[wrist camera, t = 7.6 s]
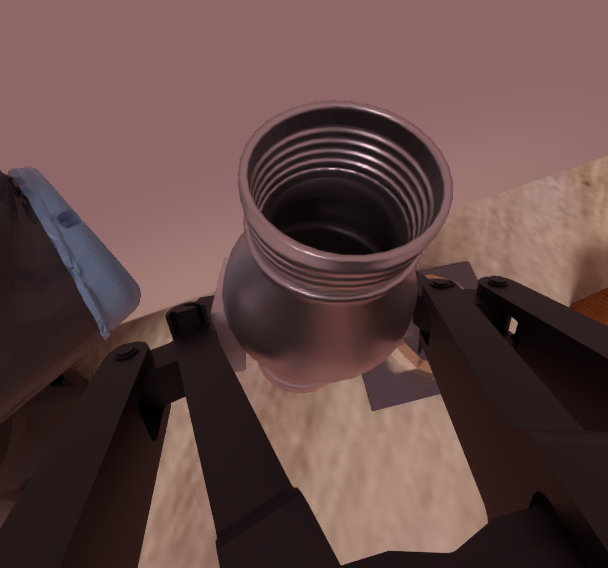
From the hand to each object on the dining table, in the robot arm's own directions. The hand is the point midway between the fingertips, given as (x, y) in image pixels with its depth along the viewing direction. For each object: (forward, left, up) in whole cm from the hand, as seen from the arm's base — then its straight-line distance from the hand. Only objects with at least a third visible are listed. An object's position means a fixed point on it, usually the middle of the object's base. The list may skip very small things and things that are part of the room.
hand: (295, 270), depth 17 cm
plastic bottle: (0, -4, -9) cm, 9 cm away
